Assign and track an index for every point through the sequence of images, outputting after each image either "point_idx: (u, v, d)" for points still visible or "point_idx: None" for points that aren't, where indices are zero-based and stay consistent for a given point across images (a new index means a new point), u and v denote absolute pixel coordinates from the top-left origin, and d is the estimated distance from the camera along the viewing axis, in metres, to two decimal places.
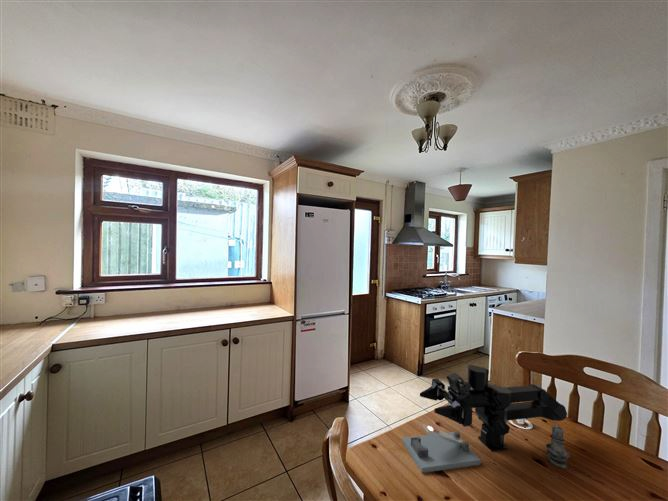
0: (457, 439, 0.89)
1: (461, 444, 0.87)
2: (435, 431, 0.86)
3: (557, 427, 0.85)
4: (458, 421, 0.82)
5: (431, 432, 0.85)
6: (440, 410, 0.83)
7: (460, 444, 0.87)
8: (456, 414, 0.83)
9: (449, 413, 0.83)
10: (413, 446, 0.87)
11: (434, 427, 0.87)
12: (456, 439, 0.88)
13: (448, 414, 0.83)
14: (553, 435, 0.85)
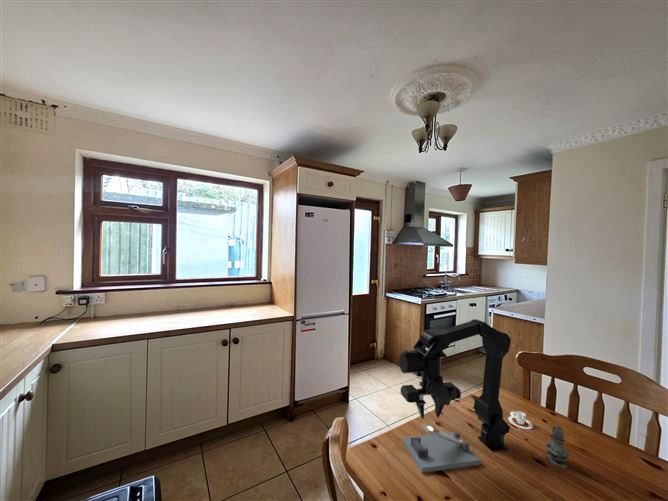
0: (457, 439, 0.89)
1: (461, 444, 0.87)
2: (435, 431, 0.86)
3: (557, 427, 0.85)
4: None
5: (431, 432, 0.85)
6: None
7: (460, 444, 0.87)
8: None
9: None
10: (413, 446, 0.87)
11: (434, 427, 0.87)
12: (456, 439, 0.88)
13: None
14: (553, 435, 0.85)
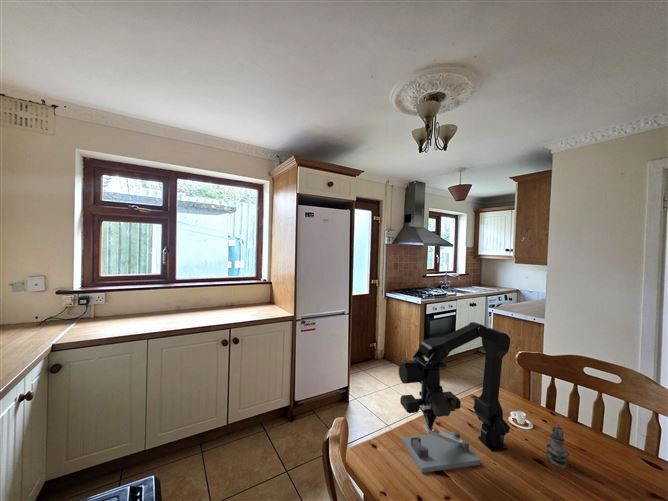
0: (457, 439, 0.89)
1: (461, 444, 0.87)
2: (435, 431, 0.86)
3: (557, 427, 0.85)
4: None
5: (431, 432, 0.85)
6: None
7: (460, 444, 0.87)
8: None
9: None
10: (413, 446, 0.87)
11: (434, 427, 0.87)
12: (456, 439, 0.88)
13: None
14: (553, 435, 0.85)
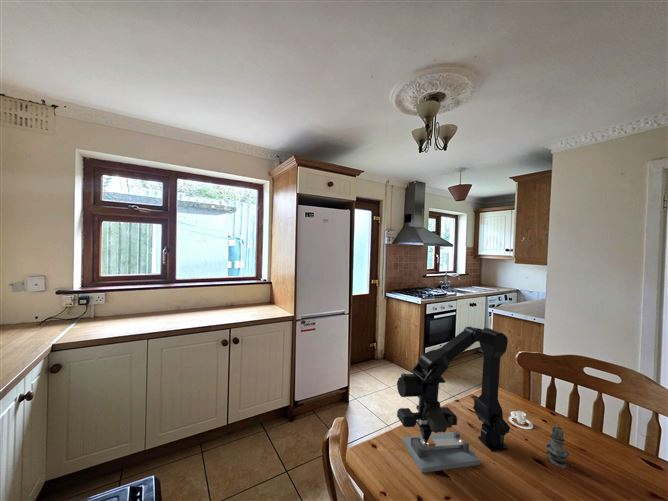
0: (456, 441, 0.89)
1: (461, 445, 0.87)
2: (431, 445, 0.85)
3: (557, 427, 0.85)
4: None
5: (427, 448, 0.85)
6: None
7: (460, 446, 0.87)
8: None
9: None
10: (413, 446, 0.87)
11: (429, 440, 0.87)
12: (455, 442, 0.88)
13: None
14: (553, 435, 0.85)
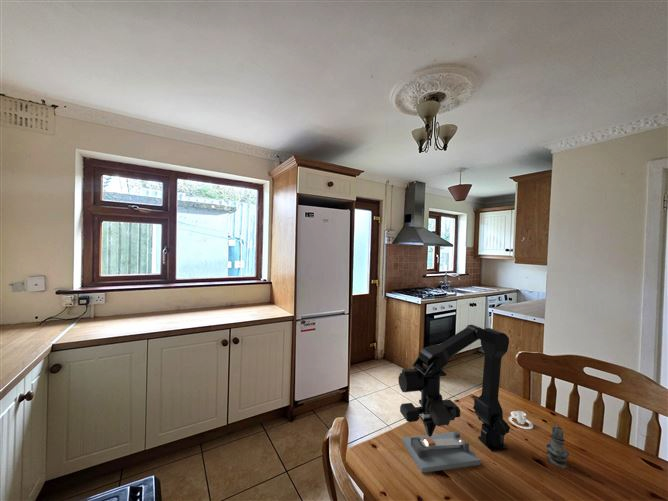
0: (456, 441, 0.89)
1: (461, 445, 0.87)
2: (431, 444, 0.85)
3: (557, 427, 0.85)
4: None
5: (427, 447, 0.85)
6: None
7: (460, 446, 0.87)
8: None
9: None
10: (413, 446, 0.87)
11: (429, 440, 0.87)
12: (455, 442, 0.88)
13: None
14: (553, 435, 0.85)
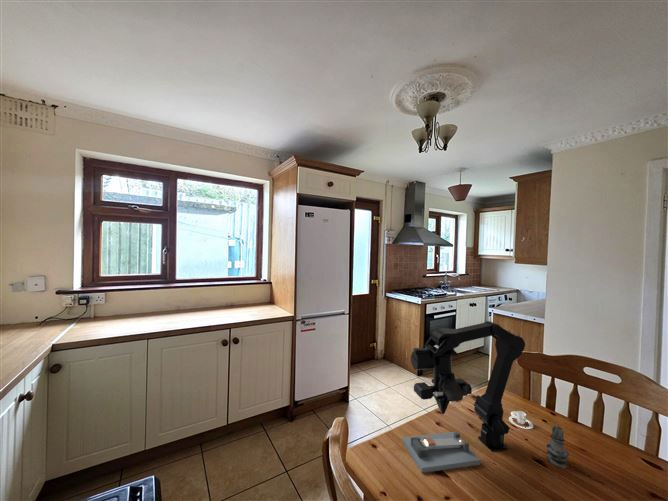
0: (456, 441, 0.89)
1: (461, 445, 0.87)
2: (431, 444, 0.85)
3: (557, 427, 0.85)
4: None
5: (427, 447, 0.85)
6: None
7: (460, 446, 0.87)
8: None
9: None
10: (413, 446, 0.87)
11: (429, 440, 0.87)
12: (455, 442, 0.88)
13: None
14: (553, 435, 0.85)
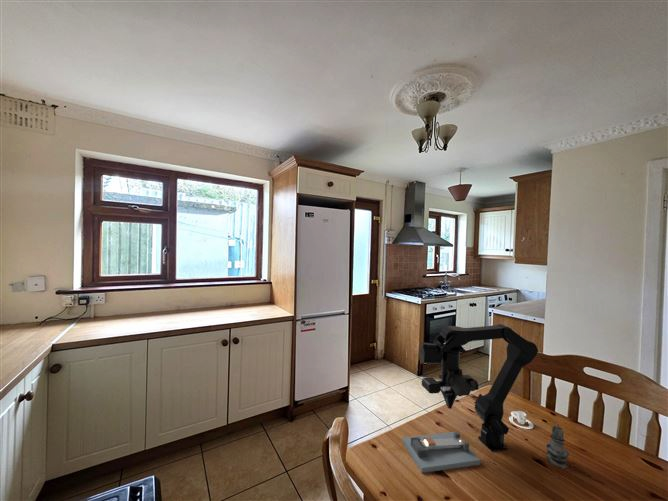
0: (456, 441, 0.89)
1: (461, 445, 0.87)
2: (431, 444, 0.85)
3: (557, 427, 0.85)
4: None
5: (427, 447, 0.85)
6: None
7: (460, 446, 0.87)
8: None
9: None
10: (413, 446, 0.87)
11: (429, 440, 0.87)
12: (455, 442, 0.88)
13: None
14: (553, 435, 0.85)
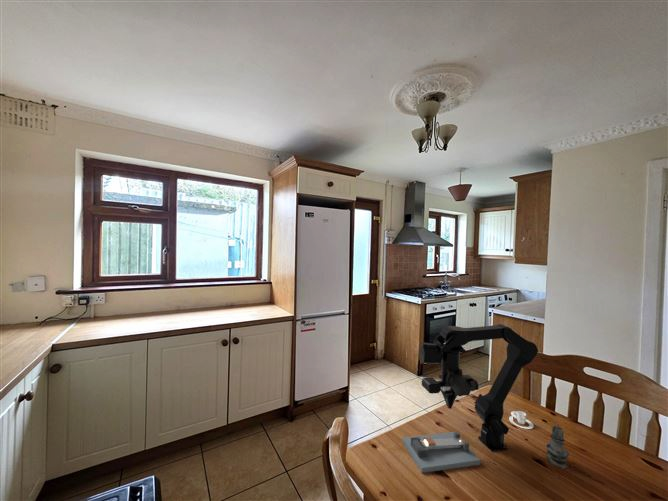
0: (456, 441, 0.89)
1: (461, 445, 0.87)
2: (431, 444, 0.85)
3: (557, 427, 0.85)
4: None
5: (427, 447, 0.85)
6: None
7: (460, 446, 0.87)
8: None
9: None
10: (413, 446, 0.87)
11: (429, 440, 0.87)
12: (455, 442, 0.88)
13: None
14: (553, 435, 0.85)
